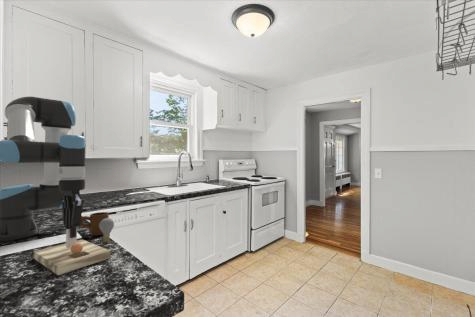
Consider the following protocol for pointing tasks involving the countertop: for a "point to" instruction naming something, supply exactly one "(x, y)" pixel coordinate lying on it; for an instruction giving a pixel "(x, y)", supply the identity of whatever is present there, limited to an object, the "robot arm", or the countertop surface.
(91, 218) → the mug
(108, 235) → the light bulb
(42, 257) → the wooden board with hole
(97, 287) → the countertop surface
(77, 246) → the ball
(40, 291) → the countertop surface
